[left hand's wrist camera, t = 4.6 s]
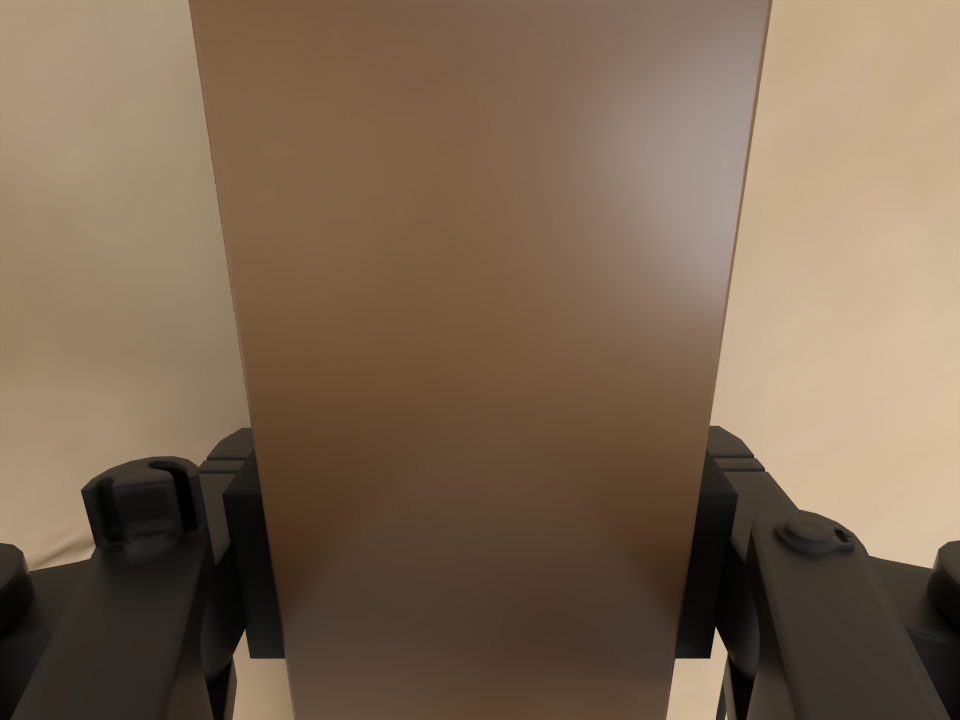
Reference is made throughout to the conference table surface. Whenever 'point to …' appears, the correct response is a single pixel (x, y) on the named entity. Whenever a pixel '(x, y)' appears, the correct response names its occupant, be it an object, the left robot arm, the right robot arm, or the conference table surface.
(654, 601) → the bar
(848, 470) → the conference table surface
